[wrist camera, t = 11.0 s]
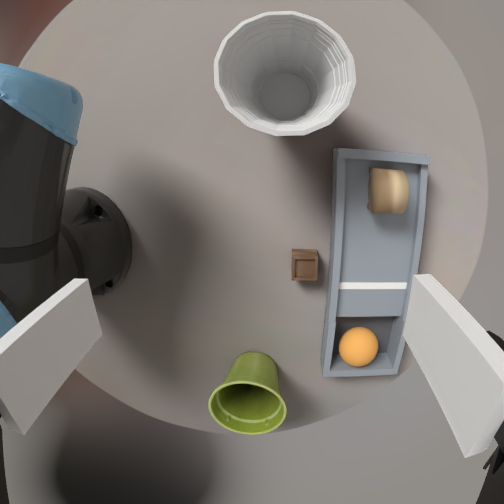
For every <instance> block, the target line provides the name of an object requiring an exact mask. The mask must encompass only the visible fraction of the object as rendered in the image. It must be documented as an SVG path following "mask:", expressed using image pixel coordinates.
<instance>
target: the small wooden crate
mask: <svg viewBox="0 0 504 504" xmlns="http://www.w3.org/2000/svg"><path fill="white" fill-rule="evenodd" d="M317 270H318V254H317V250H315V249H292V280H303V281H317Z"/></svg>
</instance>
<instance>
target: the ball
mask: <svg viewBox="0 0 504 504" xmlns="http://www.w3.org/2000/svg"><path fill="white" fill-rule="evenodd" d="M377 351H378V340H377V338H376V336H375V334H374V333H373V332H372V331H371V330H369V329H367V328H364V327H355V328H352V329H350V330H348V331H347V332H346V333H345V334H344V335H343V336H342V338H341V340H340V343H339V353H340V356H341V358H342V359H343V360H344V361H345V362H346V363H347V364H349V365H351V366H356V367H360V366H364V365H367V364H368V363H370V362H371V361H372V360H373V359H374V358H375V356H376V354H377Z"/></svg>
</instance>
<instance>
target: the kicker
mask: <svg viewBox="0 0 504 504" xmlns="http://www.w3.org/2000/svg"><path fill="white" fill-rule="evenodd" d="M369 173H370V176H369V184H368V200H369V203H368V204H367V209H368V210H371V212H372V213H387V214H403V213H404V212H405V210H406V208H407V204H408V198H409V185H408V179H407V176H406V174H405V172H404V171H403V170H398V169H390V168H376V167H369Z"/></svg>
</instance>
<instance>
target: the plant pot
mask: <svg viewBox="0 0 504 504" xmlns="http://www.w3.org/2000/svg"><path fill="white" fill-rule="evenodd" d="M208 407H209V411H210V414H211V415H212V417H213V418H214V419H215V420H216V422H218V423H219V424H220V425H221V426H223V427H224V428H226V429H228V430H230V431H233V432H236V433H240V434H247V435H257V434H263V433H267V432H270V431H272V430H274V429H276V428H277V427H278V426H280V425H281V424H282V422H283V421H284V419H285V417H286V404H285V402H284V400H283V398H282V397H281V394H280V391H279V383H278V374H277V367H276V364H275V362H274V361H273V360H272V359H271V358H270V357H269V356H267V355H265V354H263V353H259V352H258V353H250V352H247V353H244V354H241V355H240V356H239V357H237V359H236V360H235V361H234V363H233V365H232V367H231V369H230V371H229V373H228V375H227V376H226V378H225V380H224V382H223V383H222V384H221V385H220V386H219V387H217V388H216V389H215V390H214V391H213V392H212V394H211V396H210V398H209V402H208Z"/></svg>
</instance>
